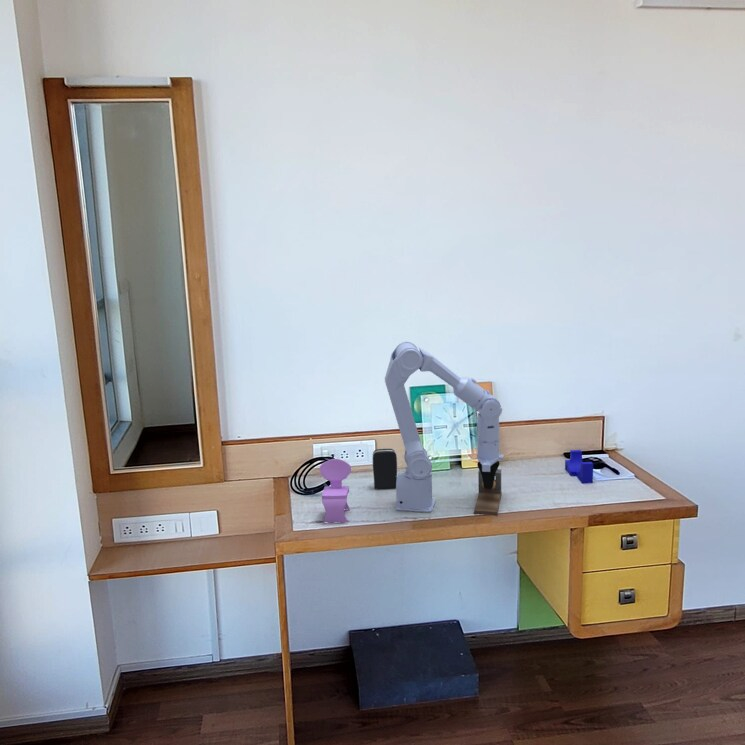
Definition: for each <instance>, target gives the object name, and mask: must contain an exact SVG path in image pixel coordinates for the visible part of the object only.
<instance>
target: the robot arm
mask: <svg viewBox="0 0 745 745" xmlns="http://www.w3.org/2000/svg"><path fill="white" fill-rule="evenodd" d="M418 370H420V372H430V373H432V374H433V375H435V376H436V377H438V378H439V379H441V380H442V381H443V382H444V383H446V384H447V385H449V386H450V387H452V389H453V394H454V396H456V397H457V398H458V399H460V400H461V401H462V402H464V403H465V404H466V405H467V406H469V407H470V408H472V409H475V411H477V412H478V413H477V422H476V424H477V427H476V429H477V432H476V433H477V445H476V446H477V454H476V459H477V460H478V461H477V468H478V471H479V470H480V472H481V475H482V479H483V485H484V489H492V488H493V484H494V478H495V473H496V471H497V469H499V466H500V460H501V461H502V460H503V461H504V459H505V455H504V454H500V416H501V415H502V412H503V408H502V405H501V403H500V401H499V400H498V399H497V398H496V397H495V396H494V395H493V393H491V392H490V391H489V390H488V389H484V388H483V387H482V386H480V385H479V384H478V383H477V380H476V379H474V378H473V377H471V378H470V377H468V376H463V377H460V376H459V375H457V373H455V372H454V371H452V370H451V369H450V368H449V367H448V366H446V365H445V364H444V363H443V362H441V361H440V360H439V359H438V358H436V357H435V356H434V355H433V354H431V353H430V352H428V351H426V350H424V349H423V348H421V347H417V346H416V345H415V343H413V342H410V341H403V342H402V341H401V343H399V344H397V346H396V347H395V348H394V349H393V351H392V352H391V354H390V359H389V363H388V367H387V369H386V372H385V377H384V383H385V386H386V389H387V393H388V396H389V400H390V403H391V405H392V408H393V413H394V415H395V419H396V422H397V426H398V430H399V432H400V435H401V439H402V442H403V446H404V451H405V452H404V456H403V458H404V462H405V463H406V465H407V467H406V469H405V471H404V472H403V473H402V472H401V473H397V480H396V488H395V493H396V494H395V495H396V508H395V510H396V511H406V512H407V511H408V512H410V511H411V512H421V513H423V512H425V513H426V512H427V513H432V511H433V509H434V507H435V504H436V502H437V500H436V499H435V498H433V473H432V470H433V464H432V461H431V460H430V459H429V455H428V453H427V450H426V449H425V448H424V447H423V444H422V441H421V438H420V434H419V431H418V427H417V424H416V421H415V418H414V414H413V411H412V408H411V404H410V401H409V397H408V394H407V391H406V388H405V387H406V386H405V383H406V382H407V381H408V379H409V378H410V376H412V375H413V374H414V373H415V372H417V371H418Z"/></svg>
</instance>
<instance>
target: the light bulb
mask: <svg viewBox="0 0 745 745" xmlns="http://www.w3.org/2000/svg"><path fill="white" fill-rule="evenodd" d="M495 486H496V480H495V478H494V484H493V488H492V489H484V485H483V482H482V487H483V489H484V490H486V491H492V490H494V489H495Z"/></svg>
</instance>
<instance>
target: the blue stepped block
mask: <svg viewBox="0 0 745 745" xmlns="http://www.w3.org/2000/svg"><path fill="white" fill-rule="evenodd" d="M569 452H570V454H569V456H570V457H569V458H570V459H566V460H564V470H565V471H566V473H567V474H568V475H569V476H570V477H576V478H577V479H578V480H579V482H580V483H581V484H593V483H594V482H593V481H594V463H593V462H592V461H583V451H582V450H581V449H575V450H574V449H572V450H570V451H569Z"/></svg>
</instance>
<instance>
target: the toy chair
mask: <svg viewBox="0 0 745 745" xmlns="http://www.w3.org/2000/svg"><path fill="white" fill-rule="evenodd" d="M318 468H319V469H318V470H319V472H320V475H321V476H322V477H323V479H325V480H327V481H329V482H330V485H329V486H324V488H323V491H322V494H321V502H322V505H323V507H324V511H325V517H324V520H323V522H348V523H349V521H348V520H347V518H346V515H345V510H344V509H350V510H351V508H350V507H349V504H348V495H349V492H350V488H349V485H344V486H343V483H342V482H343V481H345V479H347V477H348V476H349V475H350V474H351V473H352V472H351V471H352V467H351V465H350V463H348V462H347V461H345V460H343V459H339V458H332V459H329V460H328V459H327V461H324V462H322V463H321V465H320V466H319V467H318Z"/></svg>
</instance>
